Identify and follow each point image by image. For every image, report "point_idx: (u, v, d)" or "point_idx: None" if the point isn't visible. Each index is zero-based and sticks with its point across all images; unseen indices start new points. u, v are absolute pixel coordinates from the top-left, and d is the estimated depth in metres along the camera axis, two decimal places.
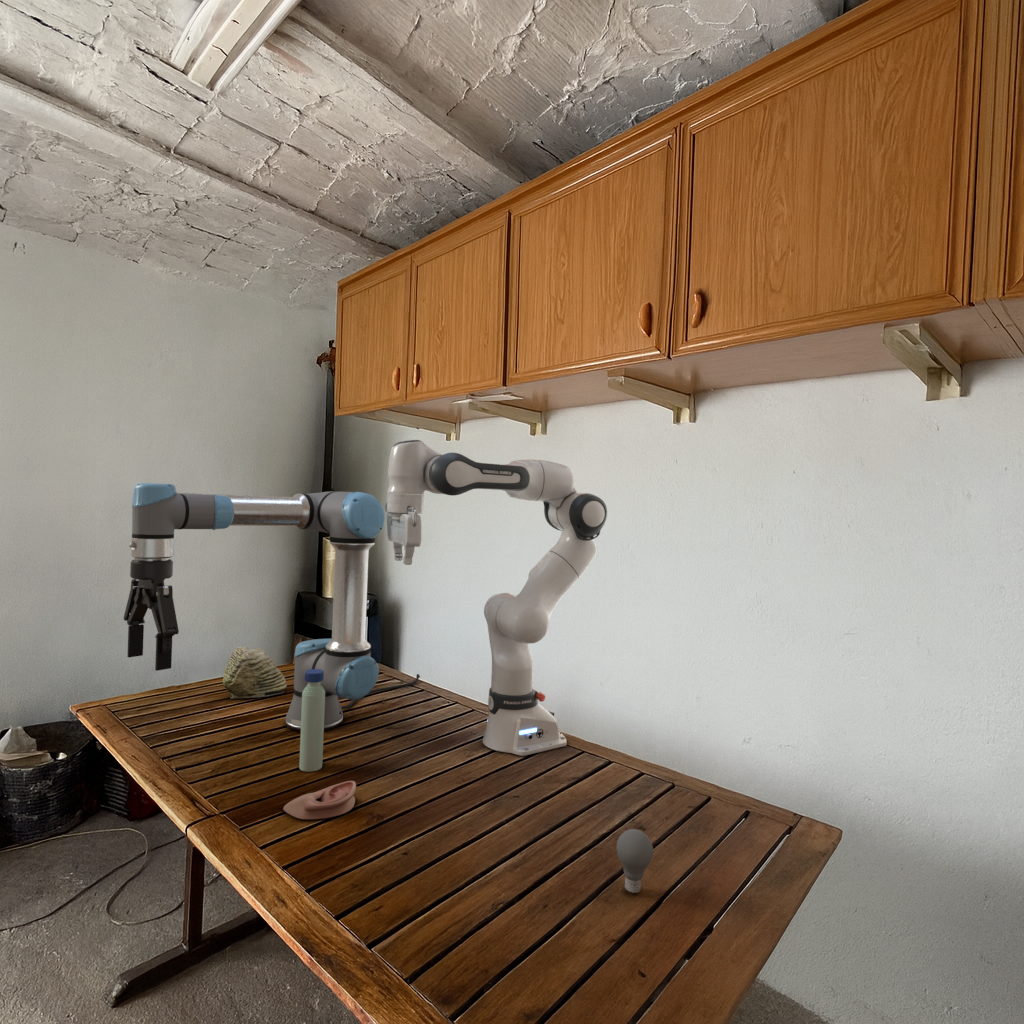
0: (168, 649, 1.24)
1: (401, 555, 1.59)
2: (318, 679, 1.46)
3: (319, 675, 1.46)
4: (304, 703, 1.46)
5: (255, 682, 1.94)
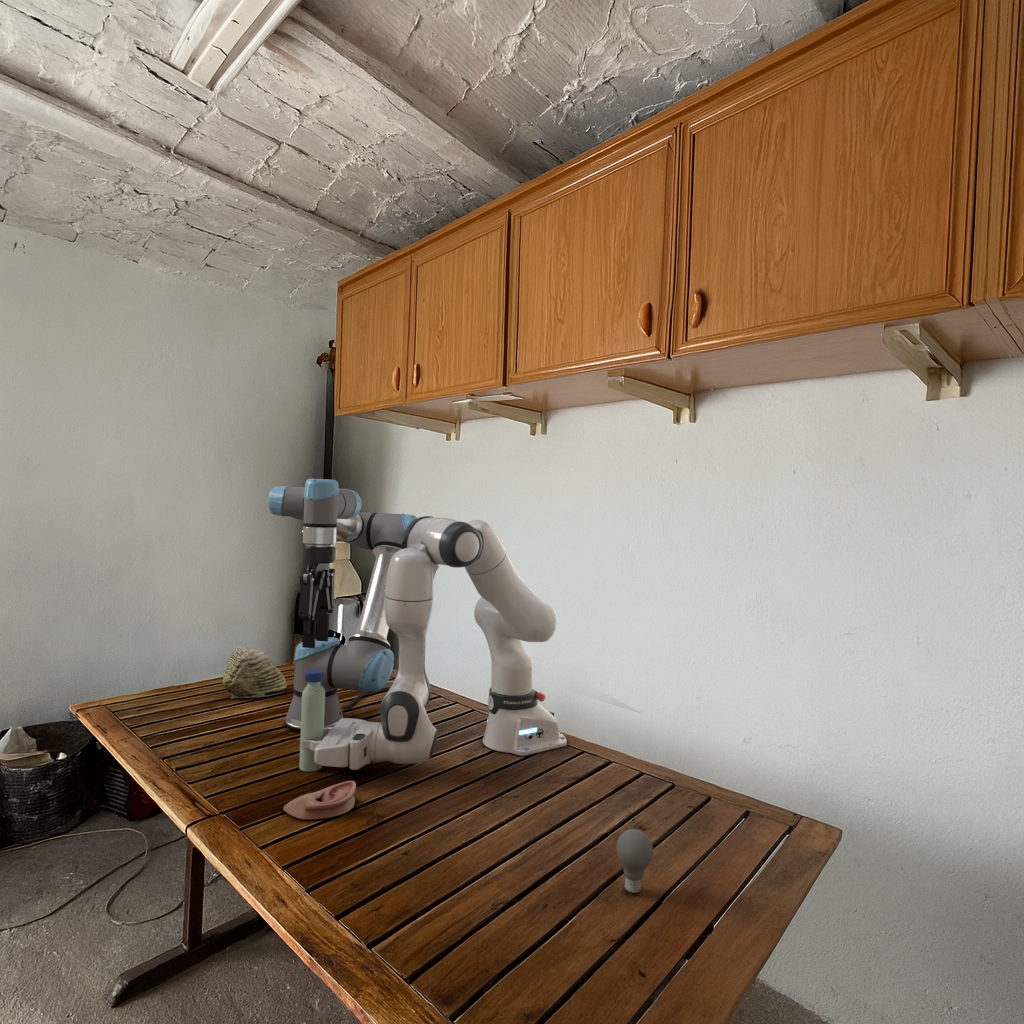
0: (307, 630, 1.42)
1: None
2: (318, 679, 1.46)
3: (319, 675, 1.46)
4: (304, 703, 1.46)
5: (255, 682, 1.94)
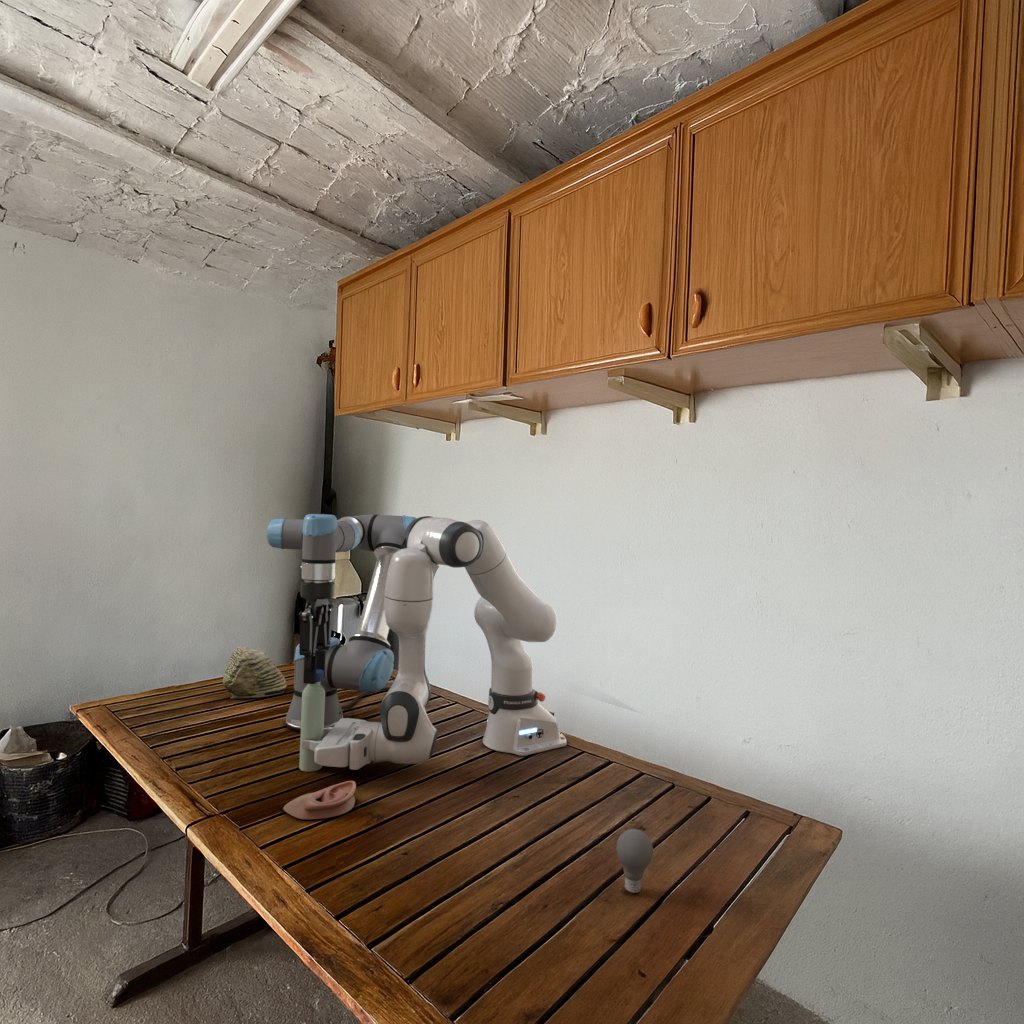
0: (308, 667, 1.44)
1: None
2: (318, 679, 1.46)
3: (319, 675, 1.46)
4: (304, 703, 1.46)
5: (255, 682, 1.94)
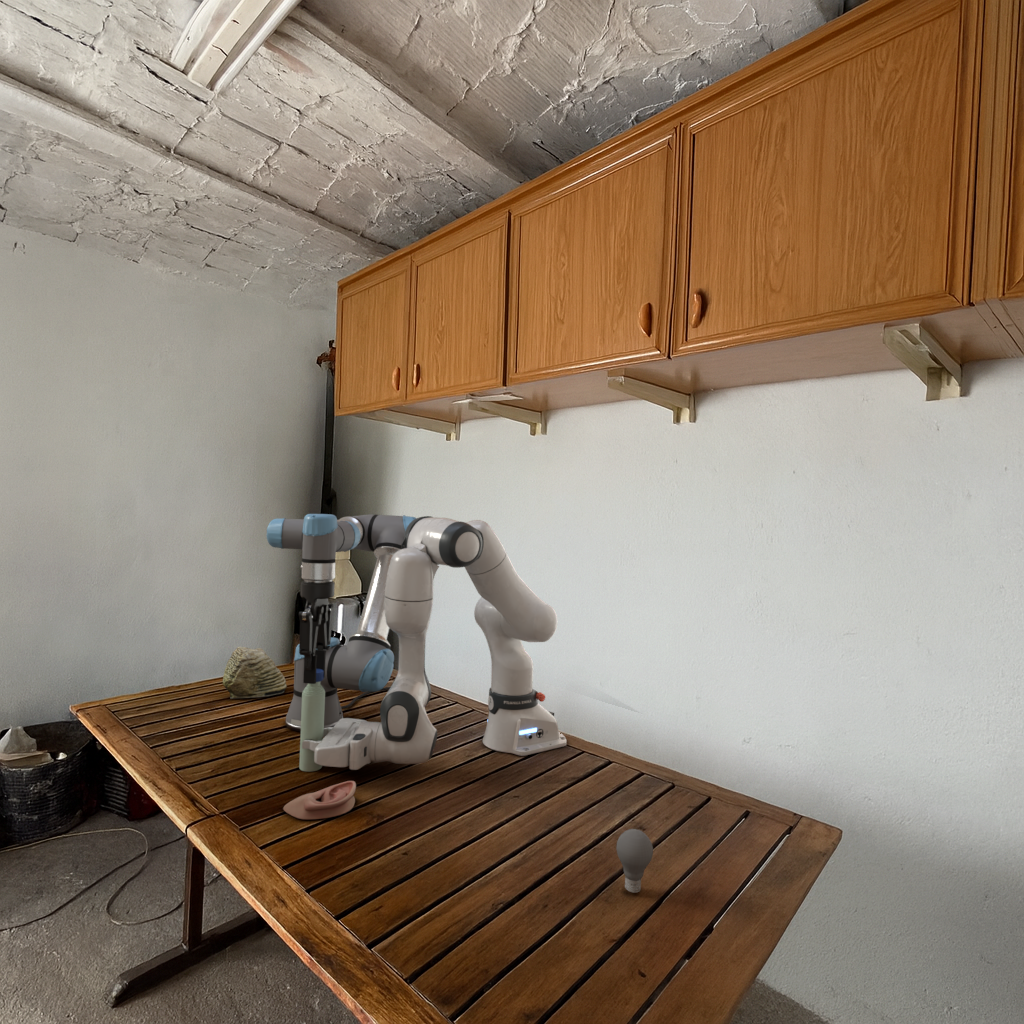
0: (308, 666, 1.44)
1: None
2: None
3: None
4: (304, 703, 1.46)
5: (255, 682, 1.94)
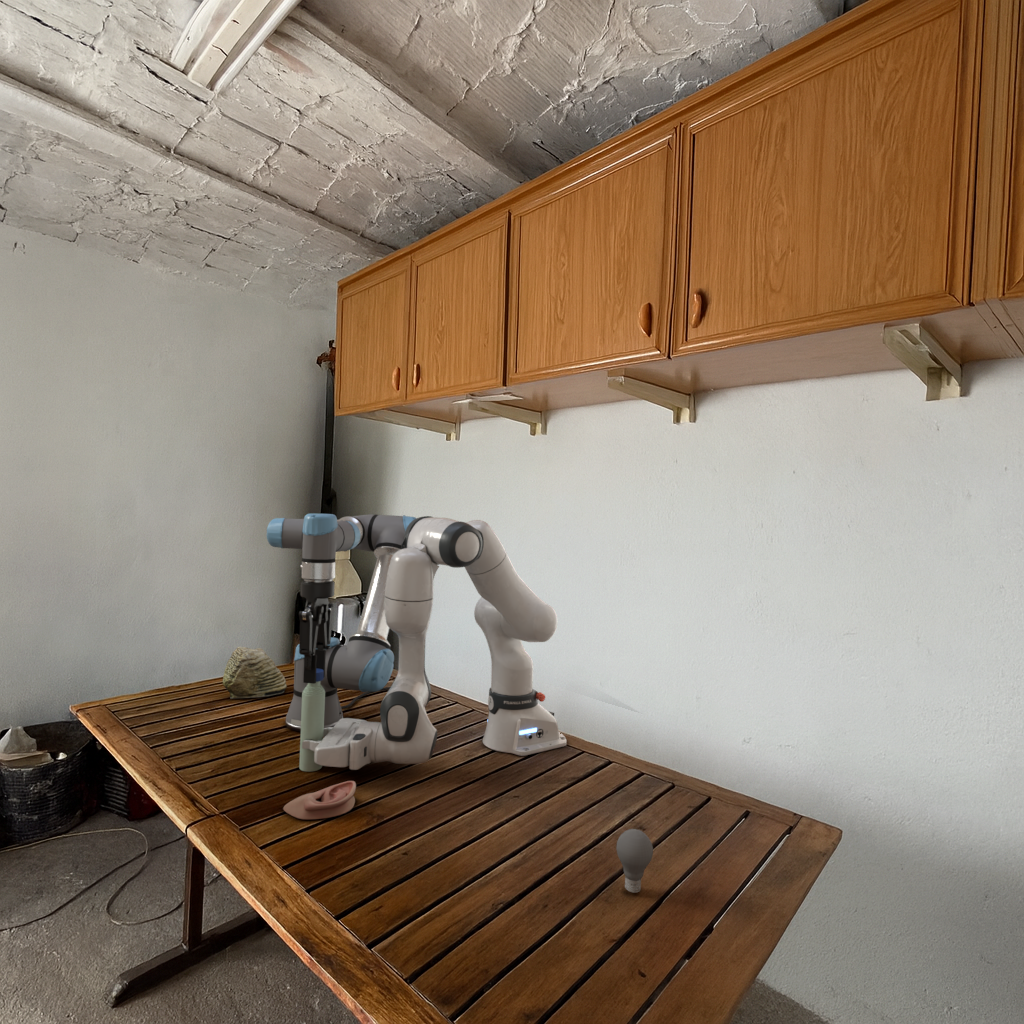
0: (308, 666, 1.44)
1: None
2: None
3: None
4: (304, 703, 1.46)
5: (255, 682, 1.94)
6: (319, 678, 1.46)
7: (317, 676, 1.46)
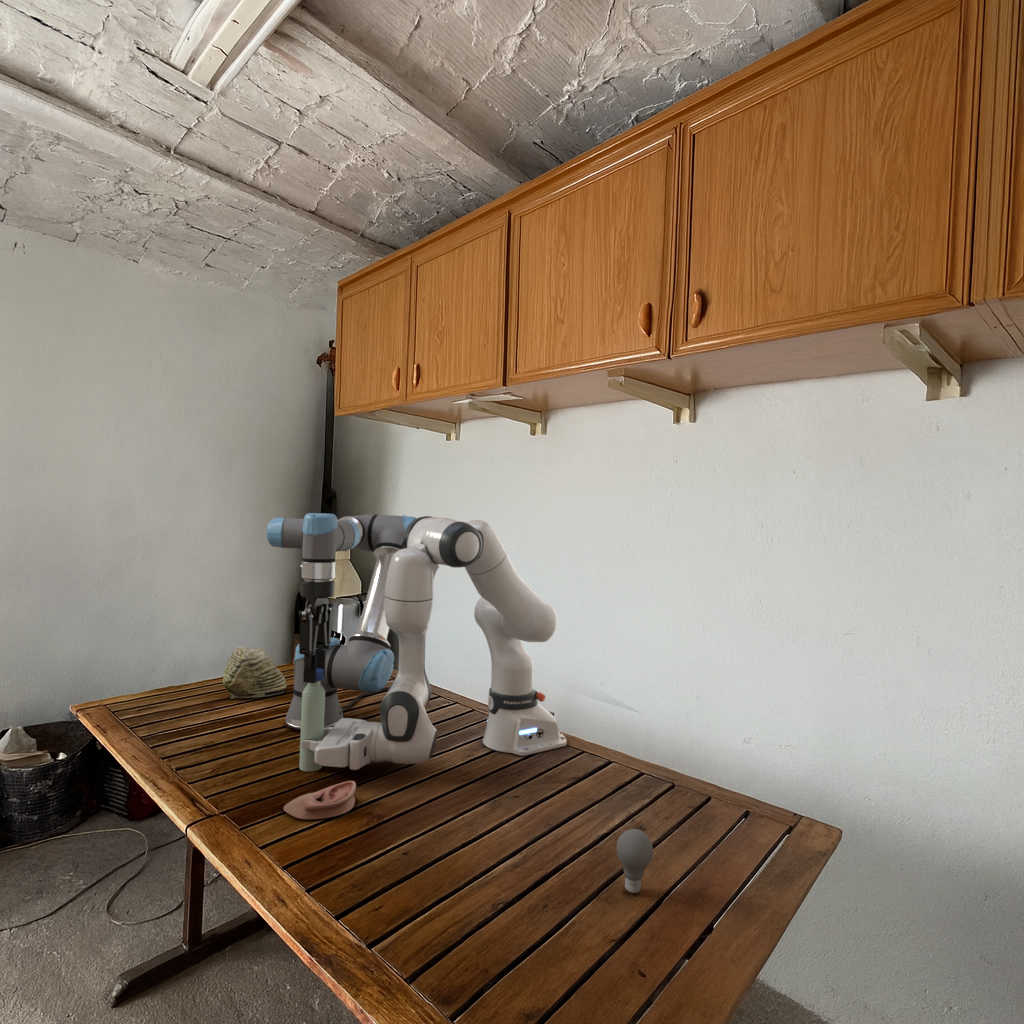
0: (308, 666, 1.44)
1: None
2: None
3: None
4: (304, 703, 1.46)
5: (255, 682, 1.94)
6: None
7: None
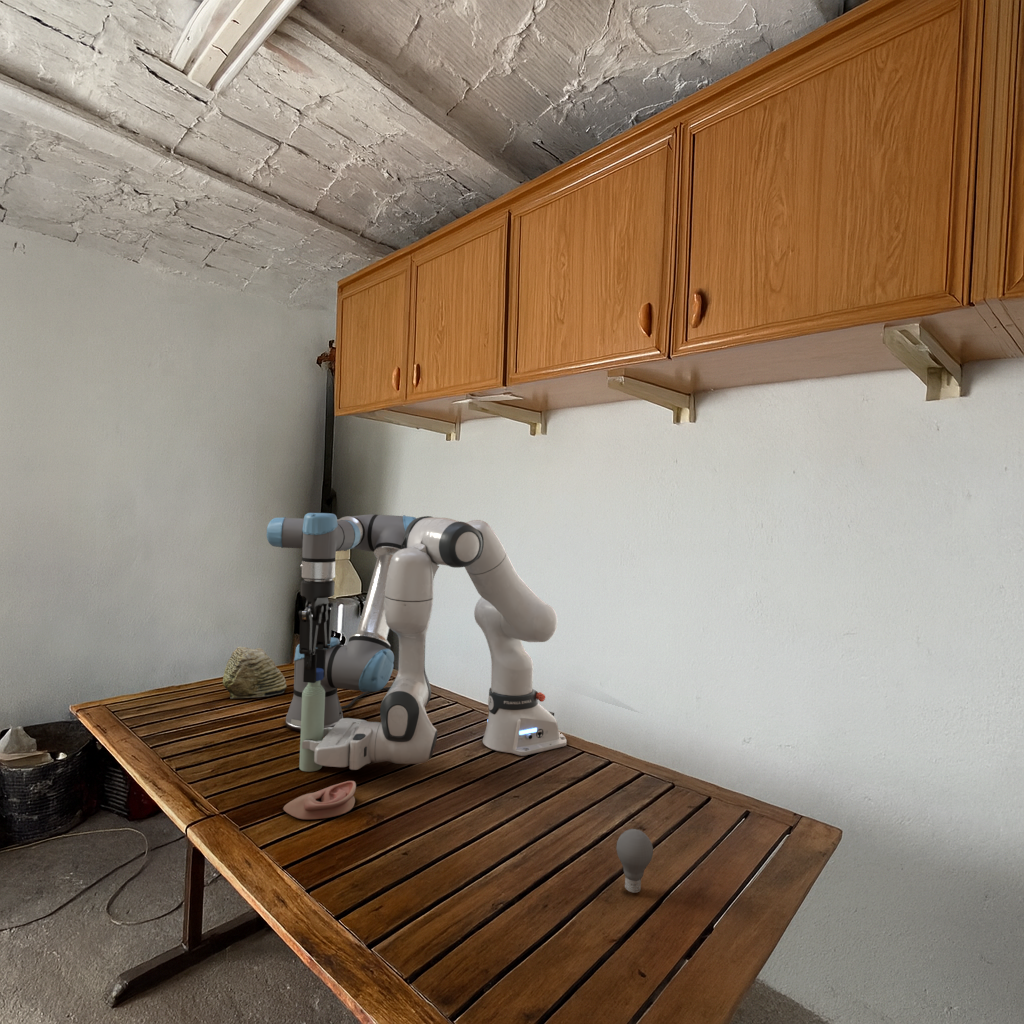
0: (308, 665, 1.44)
1: None
2: None
3: None
4: (304, 703, 1.46)
5: (255, 682, 1.94)
6: None
7: None
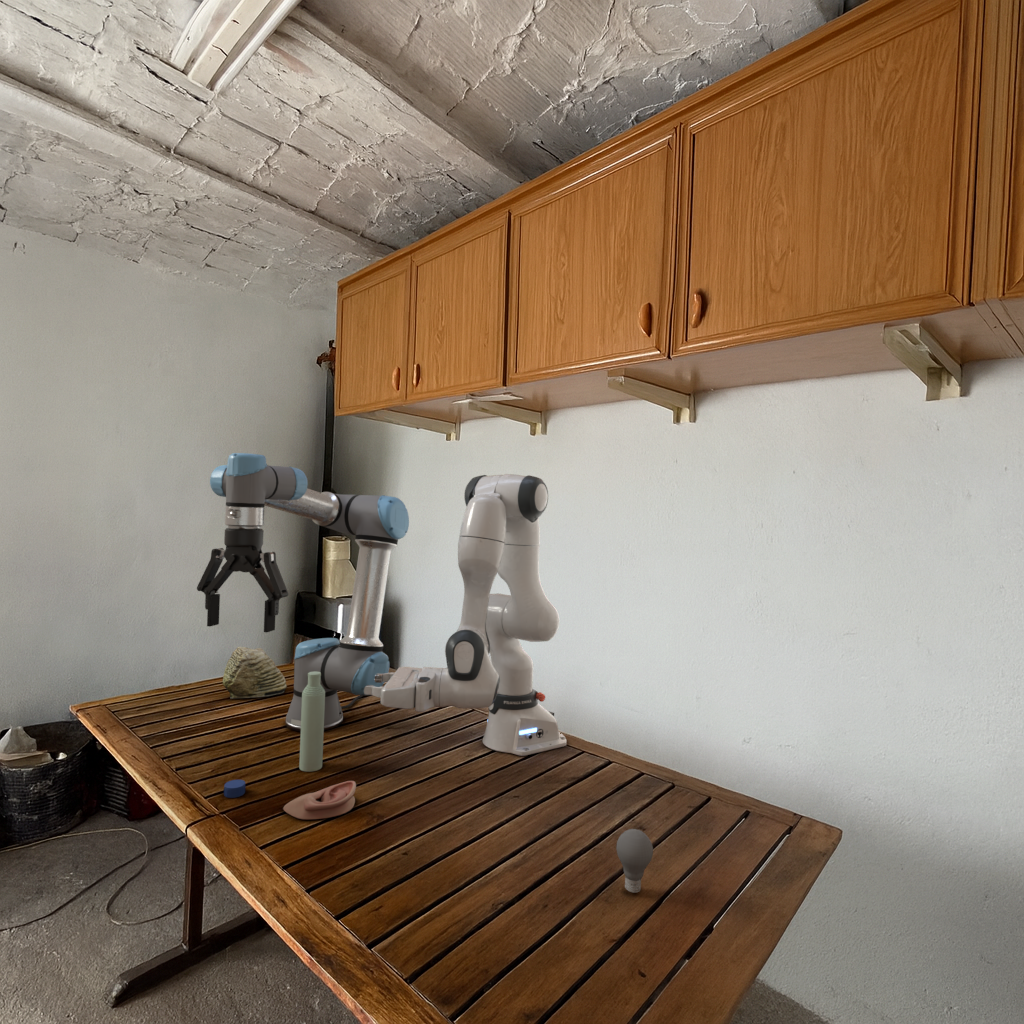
0: (277, 611, 1.31)
1: None
2: None
3: None
4: (304, 703, 1.45)
5: (255, 682, 1.94)
6: (236, 794, 1.32)
7: (233, 792, 1.32)
